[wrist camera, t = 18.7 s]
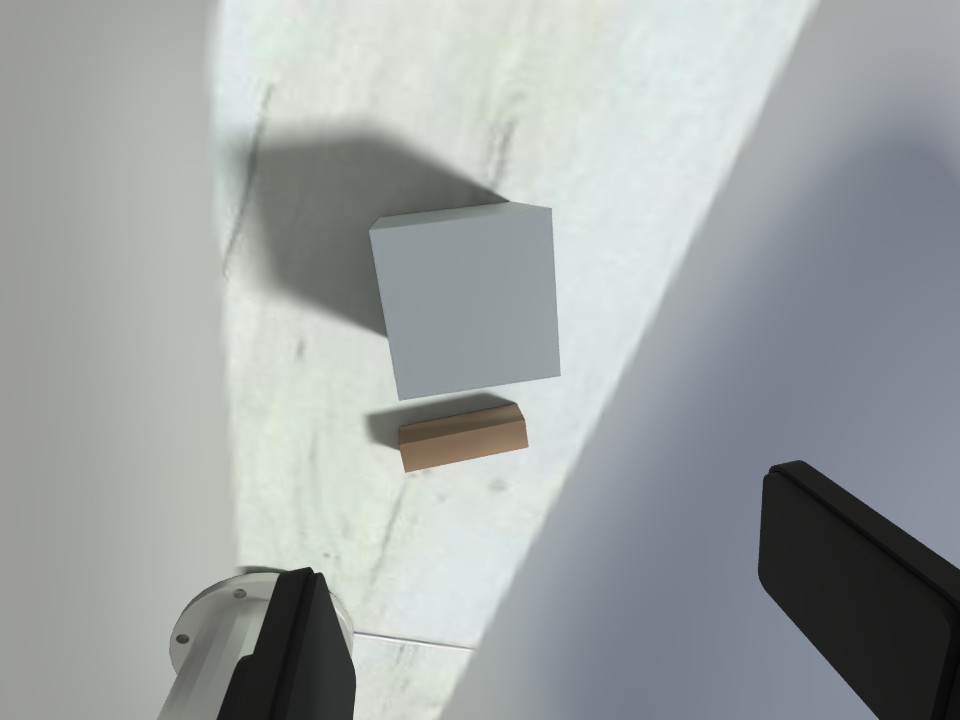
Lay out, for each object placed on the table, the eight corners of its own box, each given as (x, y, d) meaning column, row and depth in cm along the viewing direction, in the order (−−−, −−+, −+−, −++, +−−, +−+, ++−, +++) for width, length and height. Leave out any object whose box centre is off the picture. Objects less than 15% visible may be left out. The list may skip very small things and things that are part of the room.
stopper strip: (520, 429, 35) (528, 447, 32) (405, 452, 34) (405, 472, 32) (516, 403, 34) (524, 419, 32) (399, 426, 33) (398, 445, 31)
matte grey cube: (521, 326, 32) (560, 375, 24) (400, 343, 31) (398, 400, 23) (510, 201, 29) (551, 208, 21) (379, 217, 29) (368, 230, 20)
